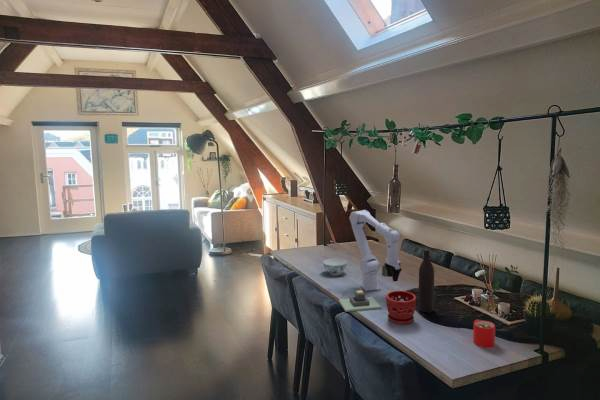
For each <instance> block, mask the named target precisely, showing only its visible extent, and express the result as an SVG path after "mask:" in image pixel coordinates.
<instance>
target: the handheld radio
mask: <svg viewBox="0 0 600 400" xmlns="http://www.w3.org/2000/svg"><path fill="white" fill-rule="evenodd" d="M400 265H402V263H401V262H400V263H399V266H400ZM381 276H384V277H385V276H388V275H387V270H386V267H385V265H384V264H382V267H381Z"/></svg>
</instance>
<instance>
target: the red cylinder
mask: <svg viewBox="0 0 600 400" xmlns="http://www.w3.org/2000/svg"><path fill="white" fill-rule="evenodd" d="M472 327H473V337H472V338H473V341H472V342H473V344H475V345H476V346H477V347H480V348H487V349H489V348H493V347H495V343H496V324H495V323H494V322H491V321H488V320H482V319H475V320H474V321H473V326H472Z"/></svg>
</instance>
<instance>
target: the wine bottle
mask: <svg viewBox="0 0 600 400" xmlns="http://www.w3.org/2000/svg"><path fill="white" fill-rule="evenodd" d="M430 254H431V249H430V248H429V249H428V248H425V249H424V250H423V260H422V261H421V264H420V265H419V268H418V311H419V312H420V311H422V312H421V313H423V312H432V311H433V312H434V309H435V268H434V265H433V263H432V261H431V257H430ZM433 312H432V313H433Z"/></svg>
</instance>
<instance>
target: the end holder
mask: <svg viewBox="0 0 600 400" xmlns="http://www.w3.org/2000/svg"><path fill="white" fill-rule="evenodd" d="M338 303H339V305H340V306H341V307H342V309H343V310H344V312H345V313H346V312H350V313H351V312H358V311H361V312H362V311H371V310H380V309H381V310H382V305H381V304H380V303H378V301H377V300H376V299H375V298H374V296H365V301H357V302H355V296H349V298H339V299H338Z"/></svg>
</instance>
